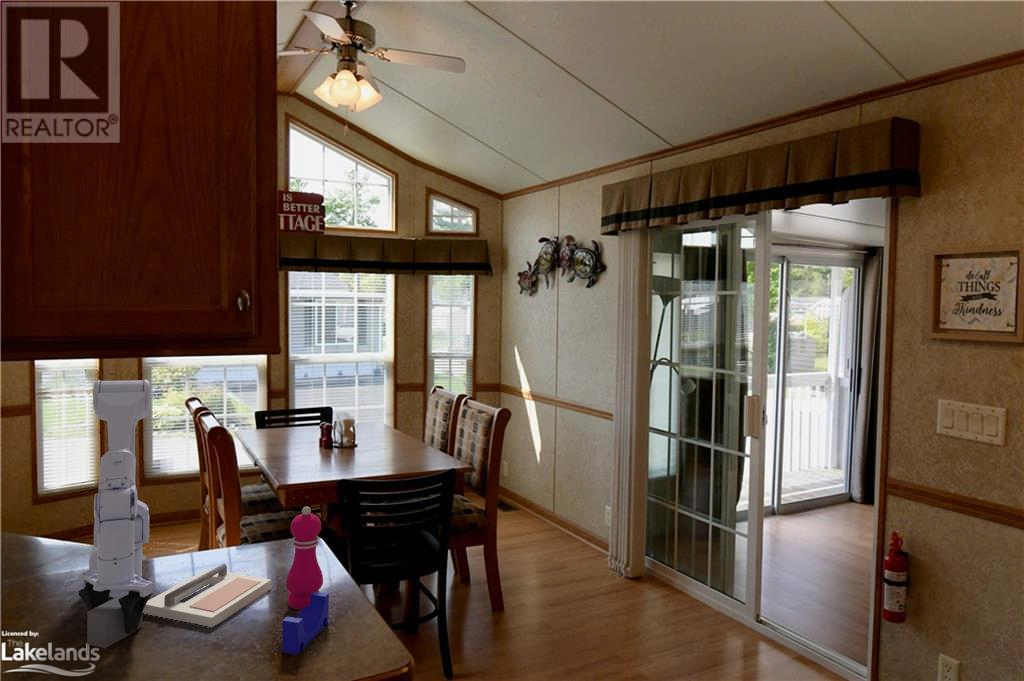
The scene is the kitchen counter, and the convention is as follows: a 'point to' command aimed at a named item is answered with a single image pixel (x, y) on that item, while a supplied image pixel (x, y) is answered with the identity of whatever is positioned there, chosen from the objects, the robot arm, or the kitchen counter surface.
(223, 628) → the kitchen counter surface
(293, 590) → the pepper mill
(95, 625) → the gray block
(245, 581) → the cream flat slotted block
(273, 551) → the kitchen counter surface
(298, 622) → the cable clip
